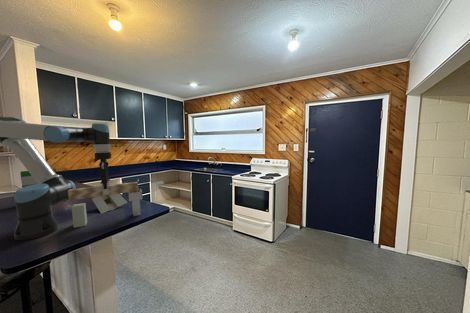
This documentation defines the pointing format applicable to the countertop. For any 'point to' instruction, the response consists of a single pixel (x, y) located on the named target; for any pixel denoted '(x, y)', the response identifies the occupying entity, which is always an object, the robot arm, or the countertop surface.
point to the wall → (109, 202)
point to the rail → (98, 190)
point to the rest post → (79, 215)
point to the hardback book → (28, 178)
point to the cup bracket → (136, 201)
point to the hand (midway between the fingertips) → (106, 193)
